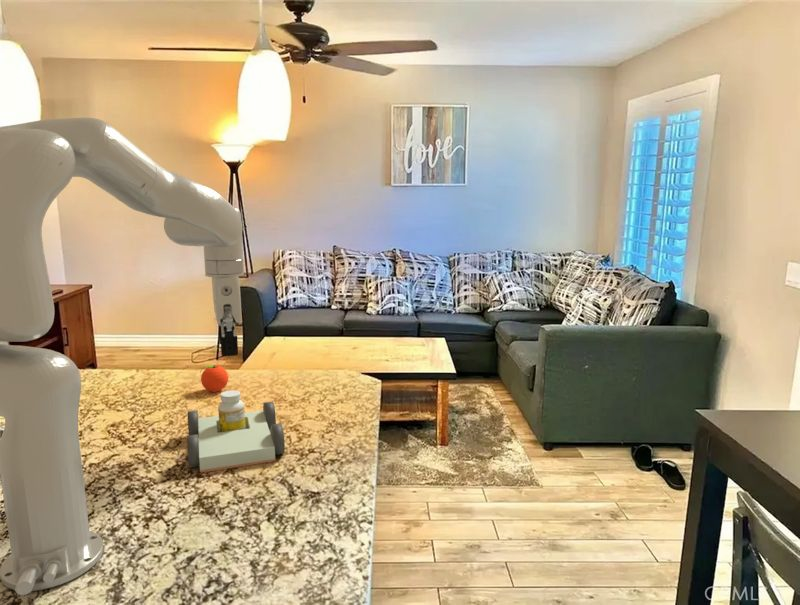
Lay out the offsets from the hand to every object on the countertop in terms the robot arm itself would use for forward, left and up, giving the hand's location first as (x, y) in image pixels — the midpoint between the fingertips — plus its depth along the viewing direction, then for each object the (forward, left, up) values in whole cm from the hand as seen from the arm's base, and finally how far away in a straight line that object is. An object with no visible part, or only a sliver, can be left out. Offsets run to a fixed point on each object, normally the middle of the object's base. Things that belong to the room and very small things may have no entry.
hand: (228, 349), depth 119 cm
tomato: (+32, +3, -20) cm, 38 cm away
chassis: (-4, 0, -20) cm, 20 cm away
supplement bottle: (0, 0, -20) cm, 20 cm away
